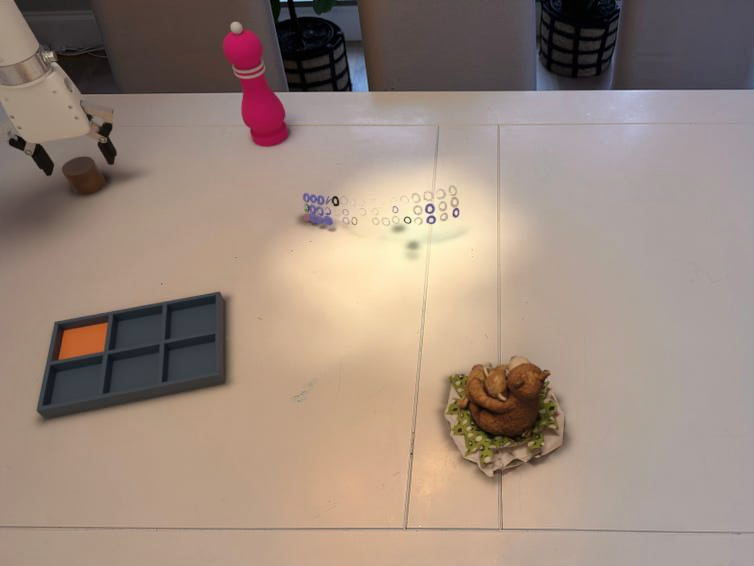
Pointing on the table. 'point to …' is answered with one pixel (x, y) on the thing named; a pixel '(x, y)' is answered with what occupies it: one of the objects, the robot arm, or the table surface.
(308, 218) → the ring set
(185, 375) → the grid
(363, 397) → the table surface
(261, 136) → the pepper mill
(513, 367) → the bear figurine
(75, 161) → the brown cylinder
